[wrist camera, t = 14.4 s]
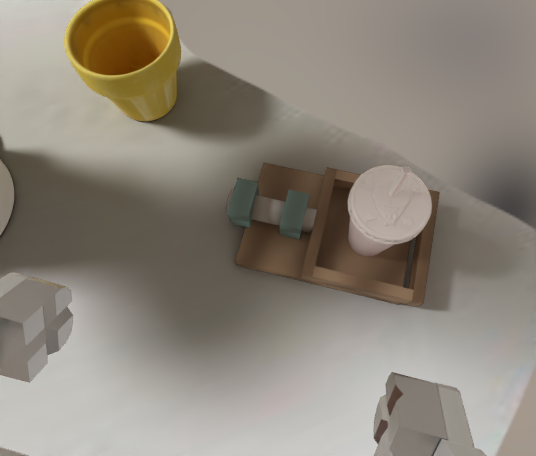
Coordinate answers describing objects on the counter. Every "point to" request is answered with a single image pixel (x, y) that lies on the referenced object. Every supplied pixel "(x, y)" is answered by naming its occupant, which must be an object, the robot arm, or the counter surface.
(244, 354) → the counter surface
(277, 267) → the brown wooden tray
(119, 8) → the plant pot
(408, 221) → the smoothie
